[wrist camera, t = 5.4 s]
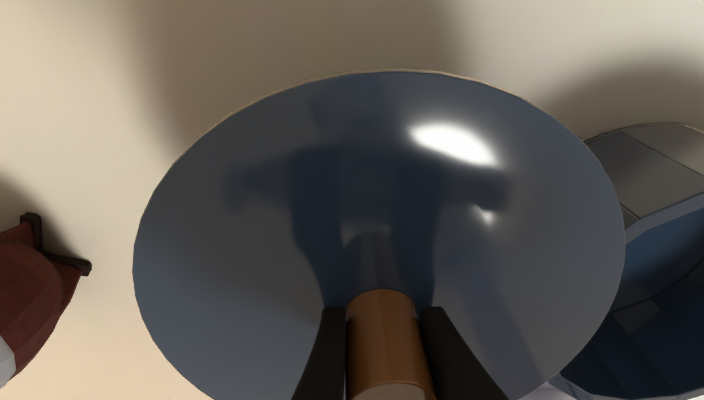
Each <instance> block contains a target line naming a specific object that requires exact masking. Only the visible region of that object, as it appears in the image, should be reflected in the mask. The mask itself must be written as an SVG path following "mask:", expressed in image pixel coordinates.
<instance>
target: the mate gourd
mask: <svg viewBox="0 0 704 400" xmlns="http://www.w3.org/2000/svg"><path fill="white" fill-rule="evenodd" d="M91 270H92V265H91V263H90V262H86V261H83V260H78V259H74V258H70V257H66V256H61V255H57V254H53V253H49V252H46V251H45V250H44V249H43V242H42V226H41V218H40V216H39V215H37V214H33V213H29V212H28V213H25V214H23V215H21V216H20V225H18V226H16V227H14V228H12V229H9V230H7V231H4V232H2V233H0V389H1V388H2V387H4V386H5V385H6V384H7V382H8V381H9V380H11V379H12V378H13V377H14V376H16V375H17V374H18V373H20V372H21V371H22V370H23V369H24V368H25V367H26V366H27V365H28V363H29V362H30V361H31V360H32V359H33V358H34V357H35V356H36V354H37V353H38V352H39V350H40V349H41V348H42V347H43V345H44V344H45V342H46V341H47V339H48V338H49V337H50V335H51V334H52V332H53V331H54V328H55V326H56V324H57V322H58V320H59V318H60V316H61V315H62V313H63V312H64V310H65V309H66V307H67V306H68V304H69V303H70V301H71V298H72V296H73V294H74V292H75V289H76V286H77V283H78V281H79V279H80V277H81V276H88V275H89V273H90V271H91Z"/></svg>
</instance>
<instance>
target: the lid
mask: <svg viewBox="0 0 704 400" xmlns="http://www.w3.org/2000/svg"><path fill="white" fill-rule="evenodd" d="M625 245H626V236H625V228H624V220H623V213H622V210H621V207H620V204H619V201H618V198H617V195H616V192H615V189H614V186H613V184H612V182H611V181H610V179H609V177H608V175H607V174H606V172H605V170H604V168H603V167H602V165H601V163H600V161H599V160H598V159H597V158H596V156H595V155H594V154H593V153H592V152H591V151H590V149H589V148H588V147H587V146H586V145H585V143H584V142H583V141H582V140H581V139H580V138H579V137H578V136H577V135H576V134H575V133H574V132H572V131H571V130H570V129H569V128H567V127H566V126H565V125H564V124H563V123H561V122H560V121H559V120H558V119H556V118H555V117H554V116H553V115H551V114H550V113H548V112H547V111H545V110H543V109H542V108H540V107H538V106H536V105H534V104H533V103H531V102H529V101H527V100H526V99H524V98H522V97H520V96H519V95H517V94H515V93H513V92H510V91H508V90H505V89H502V88H500V87H497V86H494V85H492V84H489V83H486V82H484V81H481V80H478V79H475V78H470V77H465V76H461V75H456V74H451V73H447V72H442V71H437V70H425V69H410V68H396V67H391V68H377V69H362V70H349V71H344V72H339V73H335V74H330V75H325V76H320V77H315V78H310V79H307V80H304V81H301V82H298V83H295V84H292V85H290V86H287V87H284V88H281V89H278V90H275V91H273V92H270V93H267V94H265V95H264V96H262V97H260V98H258V99H256V100H254V101H252V102H250V103H248V104H246V105H244V106H243V107H241V108H239V109H237V110H235V111H233V112H232V113H230V114H229V115H227V116H226V117H225V118H223V119H222V120H221V121H219V122H218V123H216V124H215V125H214V126H212V127H211V128H210V129H208V130H207V131H205V132H204V133H203V134H202V135H201V136H200V137H199V138H198V139H197V140H196V141H195V142H194V143H193V144H192V145H191V146H190V147H189V148H188V149H187V150H186V151H185V152H184V153H183V154H182V155H181V156H180V157H179V158H178V159H177V160H176V161H175V162H174V163H173V164H172V166H171V167H170V169H169V170H168V171H167V173H166V174H165V176H164V177H163V178H162V180H161V181H160V183H159V184H158V186H157V187H156V188H155V190H154V191H153V194H152V196H151V198H150V200H149V202H148V204H147V206H146V208H145V211H144V213H143V215H142V217H141V220H140V224H139V228H138V232H137V236H136V239H135V243H134V254H133V269H132V273H133V281H134V289H135V297H136V300H137V303H138V306H139V310H140V313H141V316H142V319H143V321H144V323H145V325H146V327H147V329H148V331H149V333H150V335H151V337H152V339H153V341H154V342H155V344H156V345H157V346H158V348H159V349H160V351H161V352H162V354H163V355H164V356H165V358H166V359H167V360H168V361H169V362H170V363H171V364H172V365H173V367H174V368H175V369H176V370H177V371H178V372H179V373H180V374H181V375H182V376H183V377H184V378H186V379H187V380H188V381H189V382H190V383H191V384H193V385H194V386H195V387H196V388H197V389H199V390H200V391H202V392H203V393H205V394H206V395H208V396H209V397H211V398H212V399H214V400H291V398H292V396H293V394H294V392H295V389H296V387H297V385H298V383H299V381H300V378H301V376H302V374H303V372H304V369H305V367H306V364H307V361H308V359H309V356H310V353H311V351H312V348H313V345H314V342H315V339H316V336H317V333H318V329H319V326H320V321H321V317H322V310H323V309H324V308H326V307H345V309H346V353H345V388H344V400H438V399H437V395H436V391H435V386H434V382H433V378H432V374H431V369H430V365H429V361H428V357H427V352H426V348H425V344H424V340H423V335H422V331H421V327H420V323H419V321H420V315H421V309H422V307H427V306H441V307H442V308H443V309H444V310H445V312H446V313H447V315H448V317H449V318H450V320H451V321H452V323H453V324H454V326H455V328H456V329H457V331H458V332H459V334H460V335H461V337H462V338H463V339H464V341H465V342H466V344H467V345H468V347H469V348H470V349H471V351H472V352H473V354H474V355H475V356H476V358H477V359H478V360H479V362H480V363H481V364H482V366H483V367H484V368H485V370H486V371H487V372H488V374H489V375H490V376H491V377H492V379H493V380H494V381H495V383H496V384H497V385H498V386H499V387H500V389H501V390H502V391H503V392H504V394H505V395H506V396H507V397H508V398H509V400H519V399H520V398H522V397H524V396H526V395H528V394H529V393H531V392H532V391H534V390H535V389H537V388H538V387H539V386H541V385H542V384H544V383H545V382H547V381H548V380H549V379H551V378H552V377H553V376H554V375H556V374H557V373H558V372H559V371H560V370H562V369H563V368H564V367H565V366H566V365H567V364H568V363H569V362H570V361H571V360H572V359H573V358H574V357H575V356H576V355H577V354H578V353H579V352H580V351H581V350H582V349H583V348H584V347H585V345H586V344H587V343H588V342H589V340H590V339H591V338H592V336H593V335H594V334H595V333H596V331H597V330H598V328H599V327H600V325H601V323H602V322H603V320H604V318H605V316H606V315H607V313H608V311H609V310H610V307H611V305H612V302H613V300H614V298H615V295H616V293H617V290H618V288H619V284H620V280H621V276H622V272H623V268H624V262H625Z"/></svg>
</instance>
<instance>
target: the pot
mask: <svg viewBox="0 0 704 400" xmlns="http://www.w3.org/2000/svg"><path fill="white" fill-rule="evenodd" d="M584 143H585V145H586V146H587V147H588V148H589V149H590V151H591V152H592V153H593V154H594V155H595V156H596V158H597V159H598V160H599V161H600V163H601V165H602V167H603V168H604V170H605V172H606V174H607V175H608V177H609V179H610V181H611V182H612V184H613V186H614V189H615V192H616V195H617V198H618V201H619V204H620V207H621V210H622V213H623V220H624V228H625V236H626V245H625V262H624V268H623V272H622V276H621V280H620V284H619V288H618V290H617V293H616V295H615V298H614V300H613V302H612V305H611V307H610V310H609V311H608V313H607V315H606V316H605V318H604V320H603V322H602V323H601V325H600V327H599V328H598V330H597V331H596V333H595V334H594V335H593V336H592V338H591V339H590V340H589V342H588V343H587V344H586V345H585V347H584V348H583V349H582V350H581V351H580V352H579V353H578V354H577V355H576V356H575V357H574V358H573V359H572V360H571V361H570V362H569V363H568V364H567V365H566V366H565V367H564V368H563V369H562V370H560V371H559V372H558V373H557V374H556V375H554V376H553V377H552V378H551V379H549V380H548V381H547V383H549V384H550V385H552V386H554V387H555V388H557V389H559V390H560V391H562V392H564V393H566V394H567V395H569V396H571V397H573V398H574V399H576V400H688V399H691V398H694V397H698V396H701V395H704V131H703V130H700V129H698V128H695V127H691V126H687V125H683V124H680V123H651V124H640V125H635V126H629V127H624V128H620V129H617V130H614V131H610V132H607V133H604V134H601V135H599V136H597V137H594V138H592V139H589V140H587V141H585V142H584Z"/></svg>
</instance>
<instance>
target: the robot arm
mask: <svg viewBox="0 0 704 400" xmlns="http://www.w3.org/2000/svg"><path fill="white" fill-rule="evenodd" d="M419 323H420V327H421V331H422V335H423V340H424V344H425V348H426V352H427V357H428V361H429V365H430V369H431V374H432V378H433V382H434V386H435V391H436V395H437V399H438V400H509V398H508V397H507V396H506V395H505V394H504V392H503V391H502V390H501V389H500V387H499V386H498V385H497V384H496V383H495V381H494V380H493V379H492V377H491V376H490V375H489V374H488V372H487V371H486V370H485V368H484V367H483V366H482V364H481V363H480V362H479V360H478V359H477V358H476V356H475V355H474V354H473V352H472V351H471V349H470V348H469V347H468V345H467V344H466V342H465V341H464V339H463V338H462V337H461V335H460V334H459V332H458V331H457V329H456V328H455V326H454V324H453V323H452V321H451V320H450V318H449V317H448V315H447V313H446V312H445V310H444V309H443V308H442V307H441V306H427V307H422V309H421V315H420V321H419ZM345 353H346V309H345V307H326V308H324V309H323V310H322V317H321V321H320V326H319V329H318V333H317V336H316V339H315V342H314V345H313V348H312V351H311V353H310V356H309V359H308V361H307V364H306V367H305V369H304V372H303V374H302V376H301V378H300V381H299V383H298V385H297V387H296V389H295V392H294V394H293V396H292V398H291V400H344V388H345ZM519 400H576V399H574V398H573V397H571V396H569V395H567V394H566V393H564V392H562V391H560V390H559V389H557V388H555V387H554V386H552V385H550V384H549V383H547V382H545V383H544V384H542V385H541V386H539V387H538V388H537V389H535V390H534V391H532V392H531V393H529V394H528V395H526V396H524V397H522V398H520V399H519Z"/></svg>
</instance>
